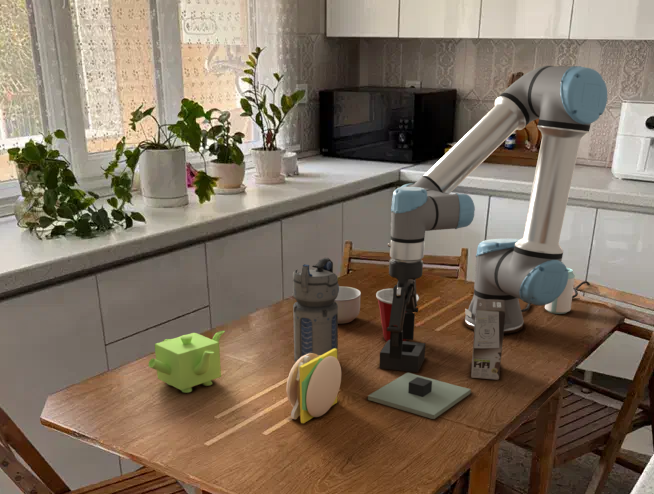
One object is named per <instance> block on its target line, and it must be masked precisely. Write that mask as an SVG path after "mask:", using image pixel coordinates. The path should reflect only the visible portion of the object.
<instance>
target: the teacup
mask: <svg viewBox="0 0 654 494" xmlns="http://www.w3.org/2000/svg"><path fill="white" fill-rule="evenodd" d="M361 295H362V293H361V290H359V289H357V288H355V287H351V286H339V293H338V296H337V298H336V299H335V302H336V303H337V304H338V324H348V323H350V322H352V321H354V320H355V319H357V317H358V316H359V314H360V311H361Z"/></svg>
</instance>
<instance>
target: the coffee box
mask: <svg viewBox="0 0 654 494" xmlns="http://www.w3.org/2000/svg"><path fill="white" fill-rule="evenodd" d="M505 313H506V308H505V300H494V299H487V300H485V299H477V306H476V317H475V329H474V330H473V344H472V359H471V374H470V377H471V378H473V379H484V380H495V381H498V380H499V379H500V371H501V361H502V353H503V345H504V344H503V343H504V335H505V334H504V323H505Z"/></svg>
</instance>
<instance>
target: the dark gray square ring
mask: <svg viewBox="0 0 654 494" xmlns="http://www.w3.org/2000/svg"><path fill="white" fill-rule="evenodd" d="M389 354H390V340H388V341H386V342H385V344H384V345H383V347H382V349H381V350H380V352H379V369H384V370H391V371H400V372H401V371H402V372H408V373H419V371H420V369H421V367H422V365H423V364H424V361H425V359H426V343H425V342H417V341H408V340H406V341H403V343H402V359H394V358H389Z"/></svg>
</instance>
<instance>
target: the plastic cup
mask: <svg viewBox="0 0 654 494" xmlns="http://www.w3.org/2000/svg"><path fill="white" fill-rule="evenodd" d="M375 297H376V299H377V302H378V309H379V315H380V323H381V328H382V336H383V340H384V341H386V342H387V341H388V340H390V332H391V331H387V327H389V322H390V315H391V308H392V301H393V288H383V289H380V290H378V291H377V292H376V293H375ZM416 297H417V303H418V302H419V299H420V296H419V294H418V293H416ZM405 312H406V311H405ZM394 326H396V325H394ZM397 327H398V326H397ZM403 341H408V339H403Z"/></svg>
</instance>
